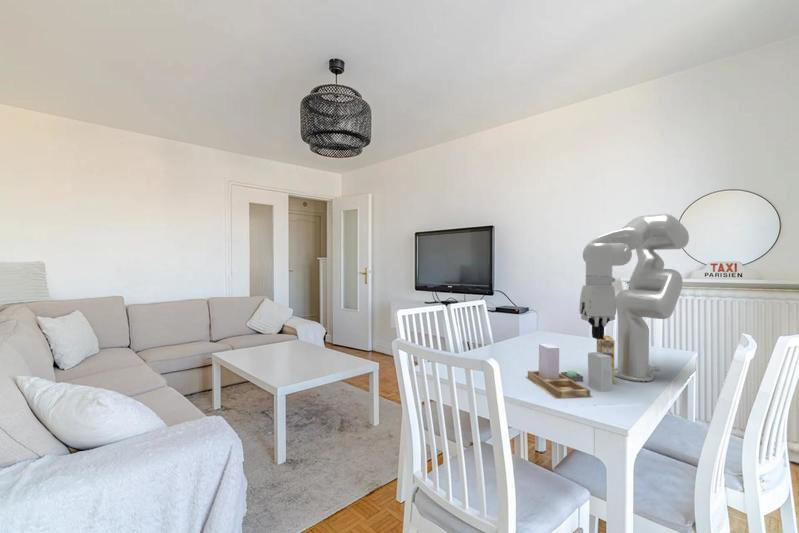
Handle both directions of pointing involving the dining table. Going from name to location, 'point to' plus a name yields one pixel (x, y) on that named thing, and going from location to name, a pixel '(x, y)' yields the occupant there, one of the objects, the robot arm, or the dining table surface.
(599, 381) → the skincare box
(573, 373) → the button
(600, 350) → the candy box
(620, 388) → the dining table surface
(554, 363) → the seated billet
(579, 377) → the grey square holder
